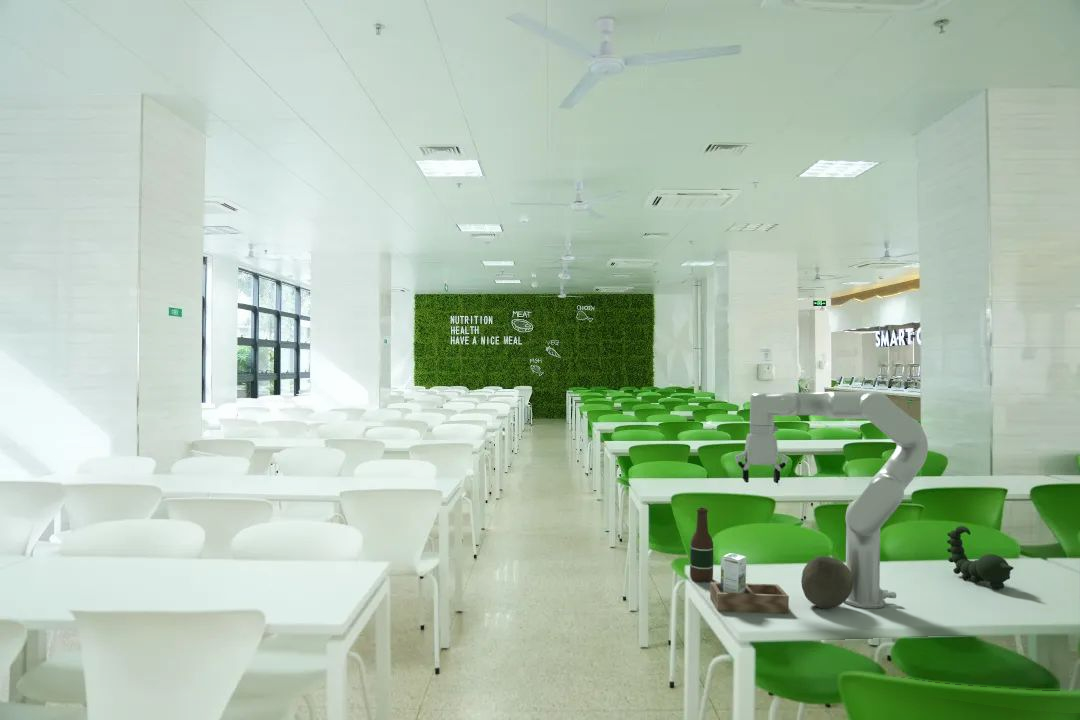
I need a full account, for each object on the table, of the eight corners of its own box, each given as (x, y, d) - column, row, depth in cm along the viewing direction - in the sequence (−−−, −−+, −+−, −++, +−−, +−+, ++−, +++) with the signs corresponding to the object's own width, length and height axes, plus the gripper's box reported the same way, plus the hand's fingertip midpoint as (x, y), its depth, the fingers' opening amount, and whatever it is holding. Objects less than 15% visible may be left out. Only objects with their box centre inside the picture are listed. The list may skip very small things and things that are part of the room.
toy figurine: (942, 578, 241) (1002, 595, 216) (938, 524, 243) (998, 534, 218) (964, 577, 243) (1027, 593, 218) (961, 523, 245) (1023, 533, 220)
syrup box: (727, 599, 209) (728, 552, 209) (746, 603, 205) (746, 555, 205) (719, 604, 204) (720, 556, 205) (738, 608, 201) (739, 559, 201)
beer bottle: (685, 576, 232) (686, 506, 233) (704, 574, 235) (705, 505, 235) (698, 583, 225) (699, 511, 225) (717, 581, 228) (718, 509, 228)
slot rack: (777, 600, 209) (777, 584, 209) (788, 613, 198) (788, 596, 199) (710, 598, 210) (710, 582, 211) (717, 610, 200) (717, 593, 200)
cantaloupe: (835, 619, 194) (836, 566, 194) (791, 605, 206) (792, 555, 206) (861, 609, 203) (862, 559, 203) (818, 596, 214) (818, 548, 214)
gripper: (784, 429, 227) (784, 481, 227) (732, 428, 228) (731, 479, 228) (791, 432, 219) (791, 484, 219) (737, 430, 220) (737, 483, 220)
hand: (761, 482), depth 223 cm, fingers open, 9 cm apart
